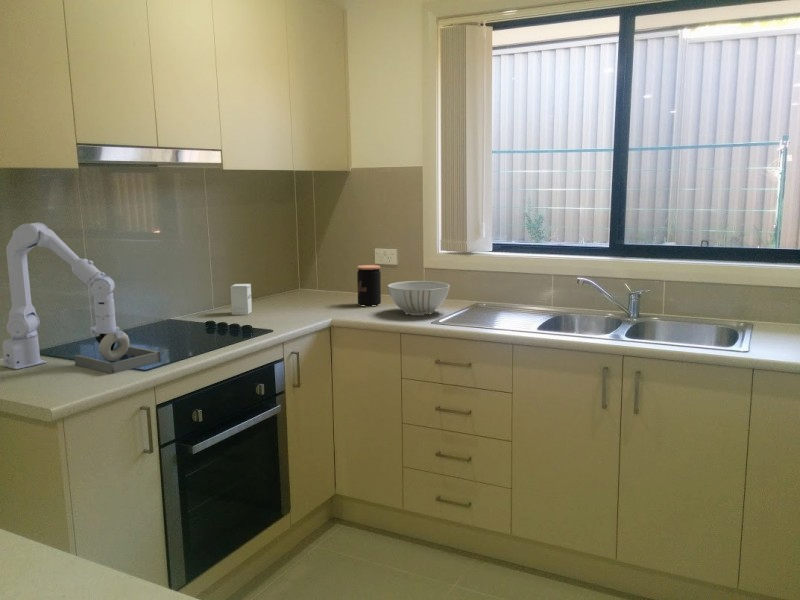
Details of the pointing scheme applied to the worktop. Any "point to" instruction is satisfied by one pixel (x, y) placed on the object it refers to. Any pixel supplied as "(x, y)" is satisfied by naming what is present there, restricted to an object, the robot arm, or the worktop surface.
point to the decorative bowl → (418, 296)
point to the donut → (118, 351)
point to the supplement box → (241, 299)
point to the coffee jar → (369, 285)
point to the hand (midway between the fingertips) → (108, 357)
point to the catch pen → (139, 359)
